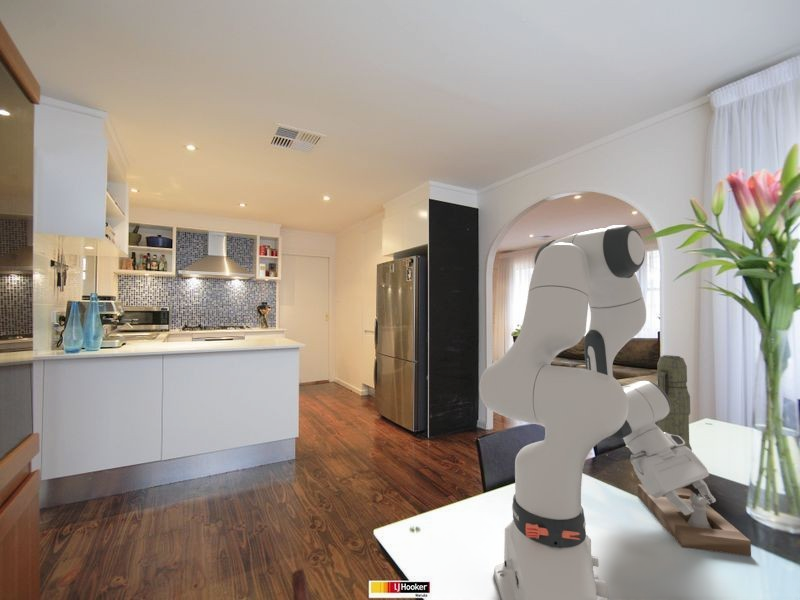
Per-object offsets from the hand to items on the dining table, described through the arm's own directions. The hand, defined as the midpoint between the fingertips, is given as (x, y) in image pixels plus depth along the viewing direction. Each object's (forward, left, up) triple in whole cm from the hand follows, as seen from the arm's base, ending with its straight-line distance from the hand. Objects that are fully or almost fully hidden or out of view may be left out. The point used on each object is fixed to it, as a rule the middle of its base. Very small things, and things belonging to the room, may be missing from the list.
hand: (701, 508), depth 79 cm
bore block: (+5, 0, -6) cm, 8 cm away
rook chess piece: (+1, 0, -6) cm, 6 cm away
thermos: (+39, -13, -6) cm, 42 cm away
